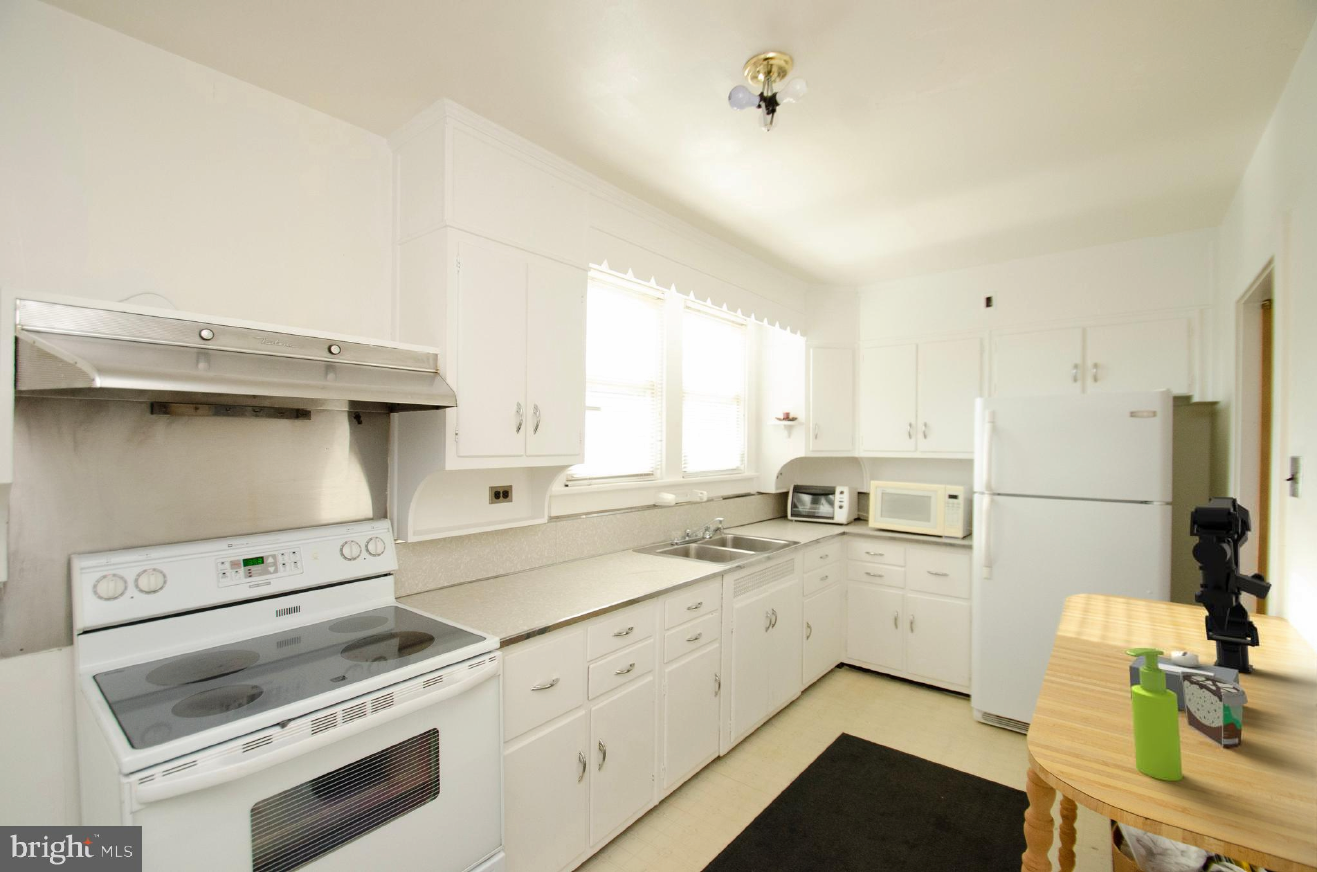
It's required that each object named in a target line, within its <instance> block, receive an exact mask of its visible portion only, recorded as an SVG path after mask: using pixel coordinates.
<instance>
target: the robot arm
mask: <svg viewBox="0 0 1317 872" xmlns="http://www.w3.org/2000/svg"><path fill="white" fill-rule="evenodd" d="M1208 499H1209V500H1208V503H1207V505H1206V506H1205V505H1197V506H1195V507H1194V509H1193V510H1191V511H1190V522H1189V537H1197V538H1198V542H1197V543H1196V544H1194V545H1193V548H1192V552H1191V554H1192V557H1193V558H1194V560H1195V561H1196V562H1198V563H1199V565H1198V571H1200V578H1201V580H1200V581H1201V582H1200V583H1199V586H1200V589H1199V590H1197V591H1196V592H1195V593H1194V600H1195V601H1194V602H1195V603H1197V604H1202V606H1203V607H1204V608H1205V610H1206V612H1207V613H1208V615H1207V614H1205V616H1204V626H1205V634H1206V640H1207V641H1214V642H1215V649H1216V652H1215V653H1216V660H1215V661H1214V663H1213V666H1217V667H1223V668H1229V669H1235V670H1238V672H1240V673H1247V674H1252V670H1253V668H1254V664H1250V658H1249V657H1250V656H1249V647H1251V648H1255V647H1260V637H1259V636H1260V635H1259V630H1258V627H1257V626H1256V625H1255V624H1254V621H1253V620H1251V617H1250V614H1249V612H1248V610H1247V609H1246V608H1245V607H1244V605H1243V604H1242V603H1241V600H1242V599H1241V597H1242V595H1243V593H1247V594H1249V595H1252V596H1254V597H1255V598H1256V599H1261V600H1267V599H1266V598H1267V596H1268V594H1269V592H1270V590H1271V588H1272V586H1273V584H1272V583H1271V582H1268V581H1266V578H1265V575H1264V574H1261V573H1258V572H1255V573H1253V574H1251V575H1248V574H1243V573H1241V561H1240V560H1241V552H1240V551H1241V548H1242V547H1243V546H1244V545H1245V544H1246V543H1247V542H1248V540H1249V533H1251V532H1252V519H1251V515H1250V510H1249V509H1247V508H1246V507H1244V506H1242V505H1241V504H1239V502H1238V499H1237V498H1236V497H1232V496H1212V497H1209V498H1208Z"/></svg>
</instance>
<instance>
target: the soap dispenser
mask: <svg viewBox="0 0 1317 872" xmlns="http://www.w3.org/2000/svg"><path fill="white" fill-rule="evenodd" d="M1124 654H1126V655H1128V656H1131V657H1134V658H1137V657H1139V656H1144V655H1145V666H1143V667H1140V668H1139V672H1140V685H1135V686H1132V687H1131V686H1130V694H1131V693H1132V699H1131V706H1132V721H1133V723H1132V724H1133V737H1134V739H1133V740H1134V751H1135V753H1134V754H1135V767H1136V769H1137V770H1138V771H1139V772H1141V773H1143V774H1144V775H1146V776H1149V777H1152V778H1155V779H1158V780H1163V781H1173V782H1174V781H1180V780H1182V778H1183V767H1182V753H1181V740H1180V739H1181V737H1180V722H1179V721H1180V720H1179V709H1178V706H1177V695H1176V694H1175V693H1174V692H1172V691H1170V690H1167V689H1166V674H1165V671H1164V670H1162V669H1160V668H1158V656H1165V654H1164V651H1163V650H1161V649H1156V648H1153V647H1136V648H1131V649H1127V650H1125V651H1124Z"/></svg>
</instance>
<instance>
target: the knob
mask: <svg viewBox="0 0 1317 872" xmlns="http://www.w3.org/2000/svg"><path fill="white" fill-rule="evenodd" d="M1170 653H1171V655H1170V658H1171V659H1172V663H1174V664H1177V665H1181V666H1186V667H1198V666H1199V663H1200V661H1199V655H1198V654H1195V653H1193V652H1188V651H1184V650H1183V651H1181V650H1172V651H1170Z"/></svg>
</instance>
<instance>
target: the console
mask: <svg viewBox="0 0 1317 872" xmlns="http://www.w3.org/2000/svg"><path fill="white" fill-rule="evenodd" d="M1128 666H1129V683H1130V685H1129V686H1130V688H1131V687H1132V686H1135V685H1140V672H1139V668H1140V667H1143V666H1145V655H1144V656H1139V657H1135V659H1134V660H1133V661H1132V662H1131V663H1130V664H1129V665H1128ZM1158 668H1160V669H1162V670H1164V671H1165V674H1166V689H1167V690H1170V691H1172V692H1174V693H1175V694H1176V695H1177V706H1178V711H1179V710H1180V711H1184V712H1186V707H1185V700H1184V692H1183V685H1182V681H1180V674H1181V671H1185V672H1195V673H1202V674H1207V675H1212V676H1217V677H1220V678H1224V679H1227V680H1230V681H1232V682H1235V683H1237V684H1239V685H1240V676H1239V674H1240V673H1239V671H1238V670H1235V669H1229V668H1223V667H1217V666H1214V665H1211V664H1204V663H1200V662H1199V666H1198V667H1186V666H1181V665H1177V664H1174V663H1172V658H1171V657H1164V656H1161V655H1158ZM1130 700H1132V693H1131V692H1130Z"/></svg>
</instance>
